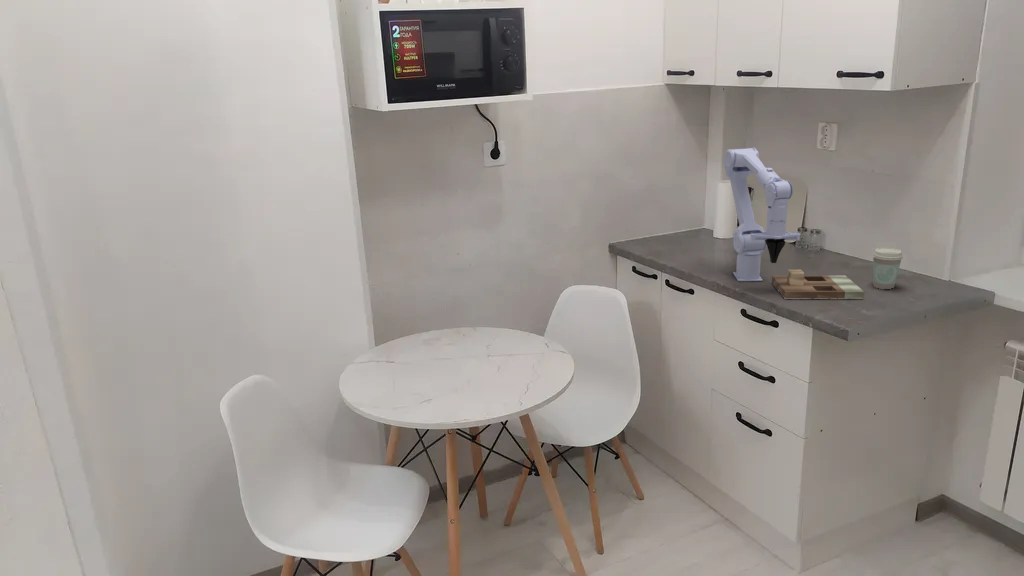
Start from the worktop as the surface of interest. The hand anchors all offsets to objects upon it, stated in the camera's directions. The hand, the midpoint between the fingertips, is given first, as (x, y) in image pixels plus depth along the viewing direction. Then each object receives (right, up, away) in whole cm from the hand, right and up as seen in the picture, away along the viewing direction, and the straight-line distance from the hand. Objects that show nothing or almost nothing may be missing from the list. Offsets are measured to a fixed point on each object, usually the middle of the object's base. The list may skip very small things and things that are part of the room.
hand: (773, 262), depth 224 cm
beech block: (+7, -7, +1) cm, 10 cm away
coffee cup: (+36, -8, +3) cm, 37 cm away
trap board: (+14, -9, +1) cm, 17 cm away
